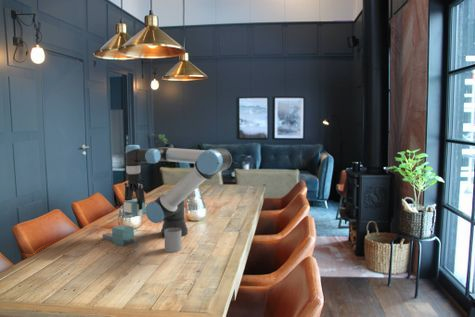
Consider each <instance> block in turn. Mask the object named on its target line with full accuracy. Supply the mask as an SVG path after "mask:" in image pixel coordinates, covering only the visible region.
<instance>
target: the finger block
mask: <svg viewBox="0 0 475 317" xmlns="http://www.w3.org/2000/svg"><path fill="white" fill-rule="evenodd" d="M142 201H143V200H142ZM137 203H138V202H137V198H132V200H127V201H126V200H124V201H123V212H124V214H123V215H124V216H125V217H127V216H130V215H131V216H130V217H131V218H136V217H139V216H143V215H146V201H145V202H144V203H142V215H139V216H137Z"/></svg>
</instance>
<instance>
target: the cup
mask: <svg viewBox="0 0 475 317" xmlns="http://www.w3.org/2000/svg"><path fill="white" fill-rule="evenodd" d="M163 237H164V251H165V252H167V253H177V252H180V251H182V250H183V248H182V246H183V245H182V244H183V243H182V236H181V229H180V228H168V229H165V230H164V236H163Z"/></svg>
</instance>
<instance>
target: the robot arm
mask: <svg viewBox="0 0 475 317" xmlns="http://www.w3.org/2000/svg"><path fill="white" fill-rule="evenodd" d="M232 157H233V156H232V154H231V152H230V151H228V149H225V148H222V147H220V148H210V149H207V150H205V149H202V150H201V149H192V148H190V149H189V148H175V147H167V146H162V147H161V146H160V147H156V148H155V147H152V148H141V146H140V145H139V144H128V145H126V146H125V161H126V162H125V163H126V164H125V165H126V168H125V169H126V180H127V182H125V183H124V201H127V200H132V199H133V195H134V194H135V199H137V202H138V203H137V216H136V217H139V215H140V216H143V215H142V203H144V202H145V203H146V199H145V190H144V187H145V185H144V184H142V183H141V182H140V181H141V180H142V174H141V163H142V164H143V163H144V164H157V163H159V162H175V163H187V164H194V165H193V168H192V169H191V170H189V172H188V173H186V174H185V175H184V176H183V177H182V178H181V179H180V180H179V181H178V182H177V183H176V184H175V185H174V186H173V187H171V189H170V190H169V191H168V192H166V193H164V192H163V193H161V194H160V195H159V196H158V197H157V198H156V199H154V200H151V201H150V202H148V203H147V205H145V207H146V214H145V215H146V217H147V220H149V221H150V222H151V223H155V224H159V223H162V222H163V223H162V228H161V230H160V235H161V236H162V237H164V230H165V229H168V228H180V229H181V237H183V236H187V235H188V233H189V231H188V227H187V223H186V220H185V199H186V198H187V197H189V196H190V195H191V194H192V193H193V192H194V191H195V190H196V189H197V188H198V187H199V186H200V185H202V184H203V183H204V182H205V181H210V180H212V179H213V178H214V177H215V176H216V175H218V174H219V173H220V172H223V171H227V169H229V168H230V167H231V165H232V162H233V158H232ZM142 200H143V201H142Z"/></svg>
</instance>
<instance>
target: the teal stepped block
mask: <svg viewBox="0 0 475 317" xmlns="http://www.w3.org/2000/svg"><path fill="white" fill-rule="evenodd" d="M134 231H135V226H130V225H127V224H120V225H115V226H112V227H111V232H107V233H106V232H105V233H103V234H102V240H106V241H109V242H112V244H114V245H118V246H122V247H125V246H128V245H131V244H134V243H135V235H134V234H135V232H134Z"/></svg>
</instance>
